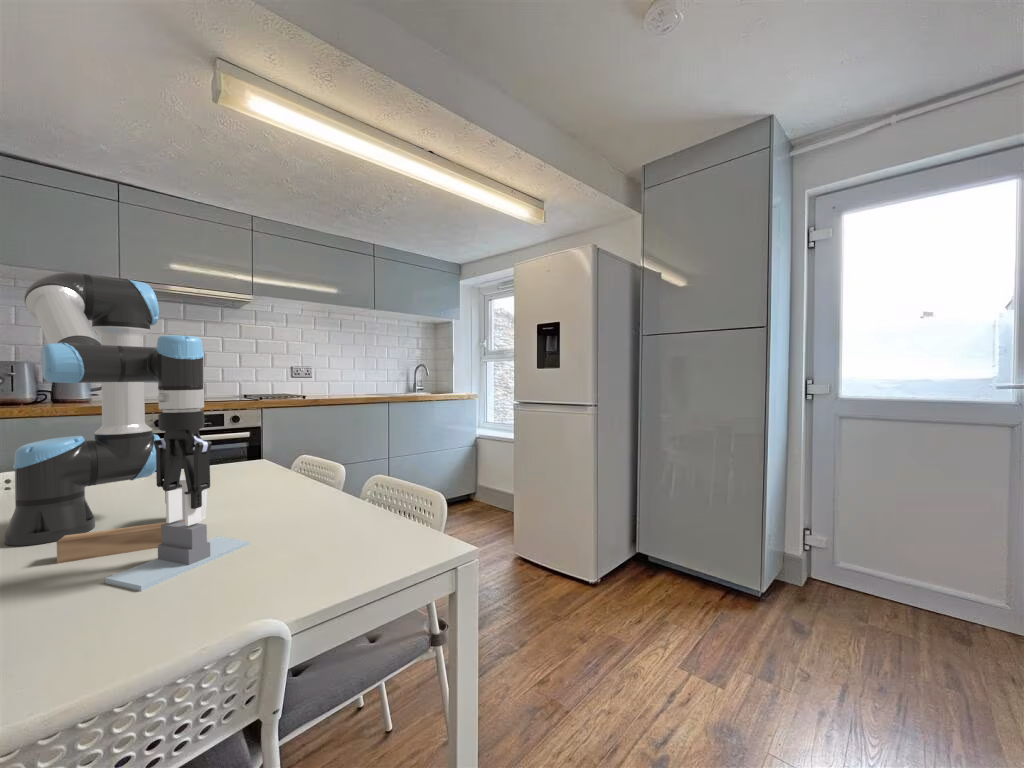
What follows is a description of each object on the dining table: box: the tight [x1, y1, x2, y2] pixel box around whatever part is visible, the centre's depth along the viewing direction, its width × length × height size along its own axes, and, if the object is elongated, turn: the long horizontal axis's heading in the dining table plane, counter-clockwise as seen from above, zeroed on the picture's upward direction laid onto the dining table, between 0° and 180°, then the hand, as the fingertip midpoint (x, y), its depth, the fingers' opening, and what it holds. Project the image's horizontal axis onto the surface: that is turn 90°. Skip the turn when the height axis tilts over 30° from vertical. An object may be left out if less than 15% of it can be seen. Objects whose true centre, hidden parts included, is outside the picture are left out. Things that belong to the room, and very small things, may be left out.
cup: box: [176, 474, 209, 521], centre depth 116 cm, size 8×8×12 cm
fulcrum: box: [104, 520, 251, 592], centre depth 90 cm, size 10×22×8 cm, turn 162°
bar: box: [56, 520, 185, 565], centre depth 96 cm, size 4×21×5 cm, turn 118°
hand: (183, 522), depth 90 cm, fingers open, 5 cm apart
